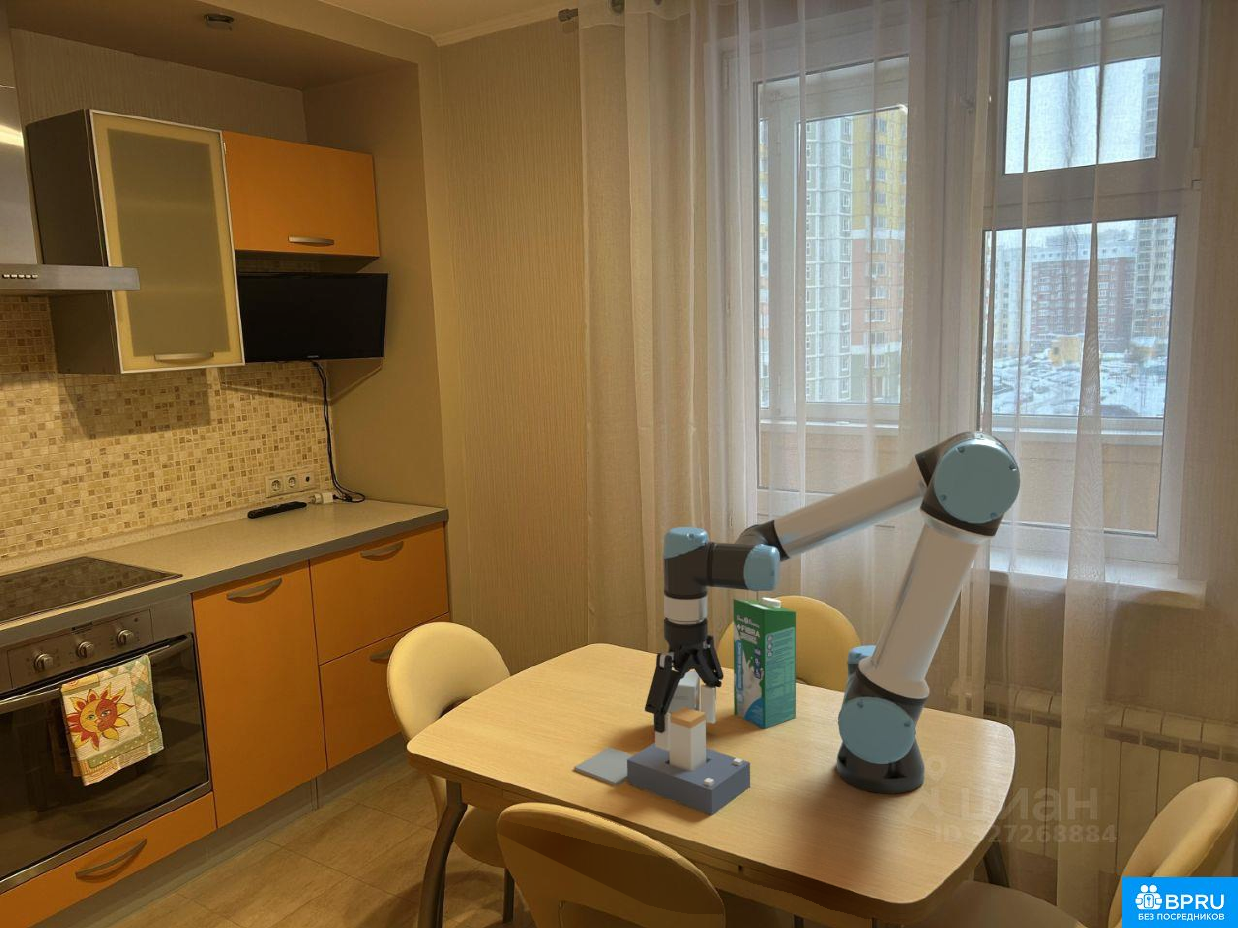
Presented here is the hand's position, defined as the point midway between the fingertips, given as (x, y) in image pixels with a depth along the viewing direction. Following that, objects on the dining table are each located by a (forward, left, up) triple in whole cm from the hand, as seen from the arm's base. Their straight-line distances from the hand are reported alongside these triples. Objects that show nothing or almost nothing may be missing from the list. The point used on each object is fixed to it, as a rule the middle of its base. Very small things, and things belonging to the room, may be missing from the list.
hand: (686, 734), depth 160 cm
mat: (+15, +3, -9) cm, 18 cm away
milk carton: (+4, -33, -10) cm, 35 cm away
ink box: (+14, -16, -10) cm, 23 cm away
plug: (0, 0, -9) cm, 9 cm away
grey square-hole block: (0, 0, -9) cm, 9 cm away
